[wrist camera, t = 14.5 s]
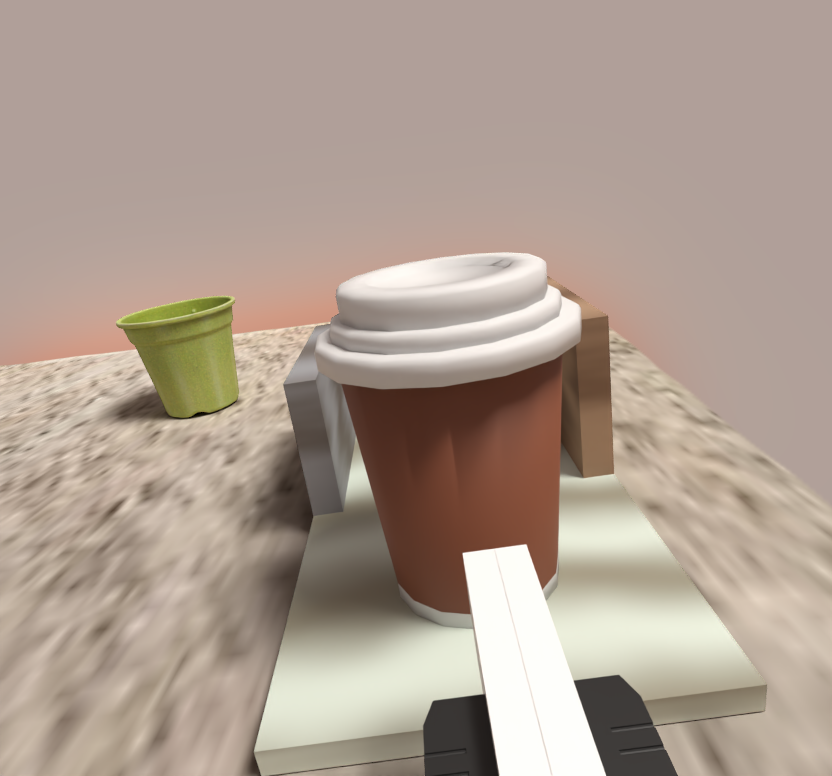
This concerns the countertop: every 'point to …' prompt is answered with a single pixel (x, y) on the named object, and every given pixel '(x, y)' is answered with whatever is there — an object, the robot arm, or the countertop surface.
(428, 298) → the coffee cup
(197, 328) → the plant pot
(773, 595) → the countertop surface
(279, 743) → the shelf
